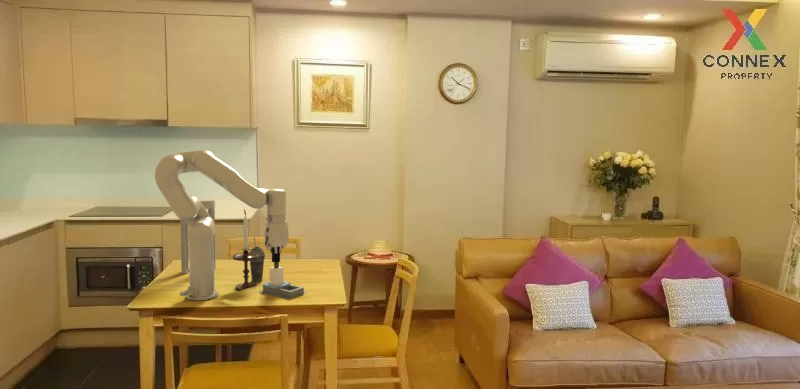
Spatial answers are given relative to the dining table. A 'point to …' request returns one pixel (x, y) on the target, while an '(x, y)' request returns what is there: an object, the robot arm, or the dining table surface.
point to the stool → (208, 204)
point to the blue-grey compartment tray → (283, 290)
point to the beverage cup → (257, 264)
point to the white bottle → (276, 275)
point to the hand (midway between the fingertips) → (275, 262)
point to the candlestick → (245, 257)
